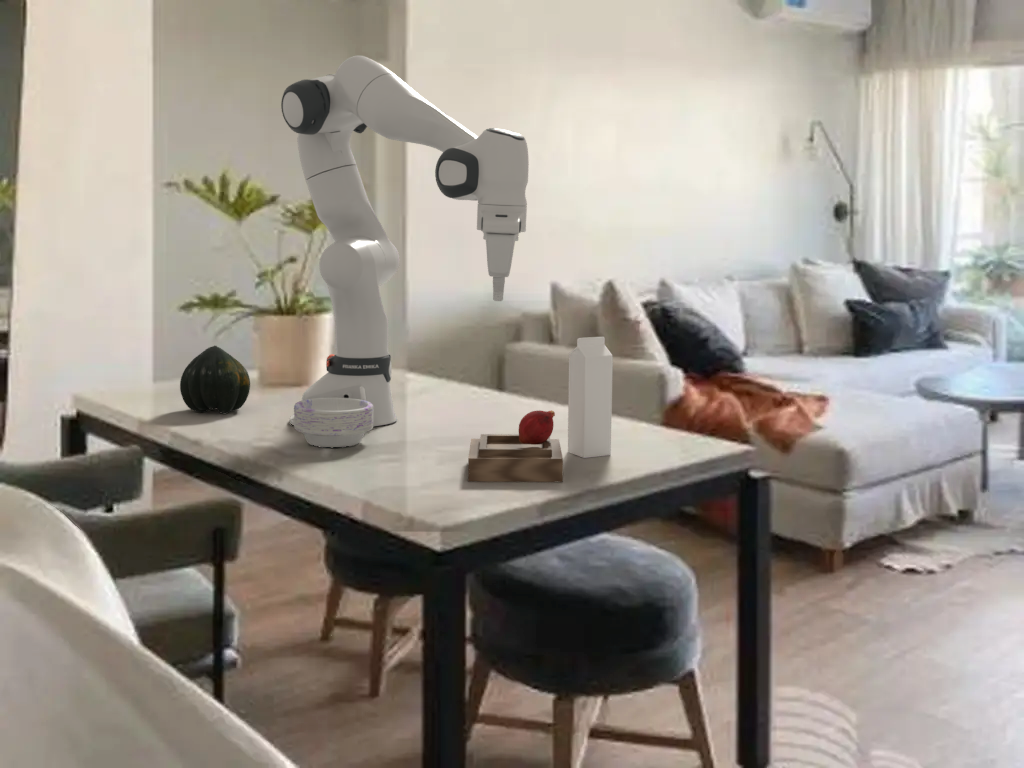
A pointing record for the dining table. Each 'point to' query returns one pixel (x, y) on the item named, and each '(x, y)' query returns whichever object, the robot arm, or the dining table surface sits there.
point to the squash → (214, 382)
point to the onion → (536, 427)
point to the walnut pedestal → (514, 460)
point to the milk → (590, 398)
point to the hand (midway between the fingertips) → (498, 298)
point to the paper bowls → (333, 420)
